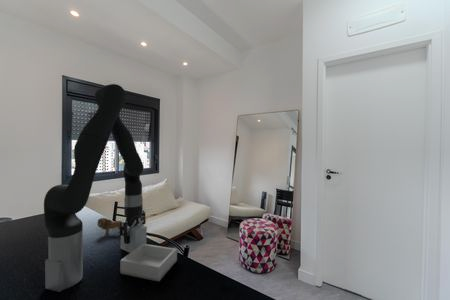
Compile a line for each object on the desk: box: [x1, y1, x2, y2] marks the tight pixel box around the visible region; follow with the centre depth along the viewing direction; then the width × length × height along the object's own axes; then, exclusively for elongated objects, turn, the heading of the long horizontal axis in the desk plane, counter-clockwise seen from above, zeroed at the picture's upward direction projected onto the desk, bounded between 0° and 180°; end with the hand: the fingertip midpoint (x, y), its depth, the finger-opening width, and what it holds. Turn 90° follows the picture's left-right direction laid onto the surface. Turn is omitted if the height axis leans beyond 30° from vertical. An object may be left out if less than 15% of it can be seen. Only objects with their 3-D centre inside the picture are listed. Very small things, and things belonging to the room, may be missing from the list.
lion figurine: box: [96, 217, 121, 237], centre depth 107 cm, size 15×5×9 cm, turn 108°
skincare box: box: [119, 224, 148, 254], centre depth 92 cm, size 10×6×10 cm, turn 59°
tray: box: [119, 243, 178, 282], centre depth 79 cm, size 13×16×5 cm
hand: (133, 239), depth 92 cm, fingers open, 8 cm apart
